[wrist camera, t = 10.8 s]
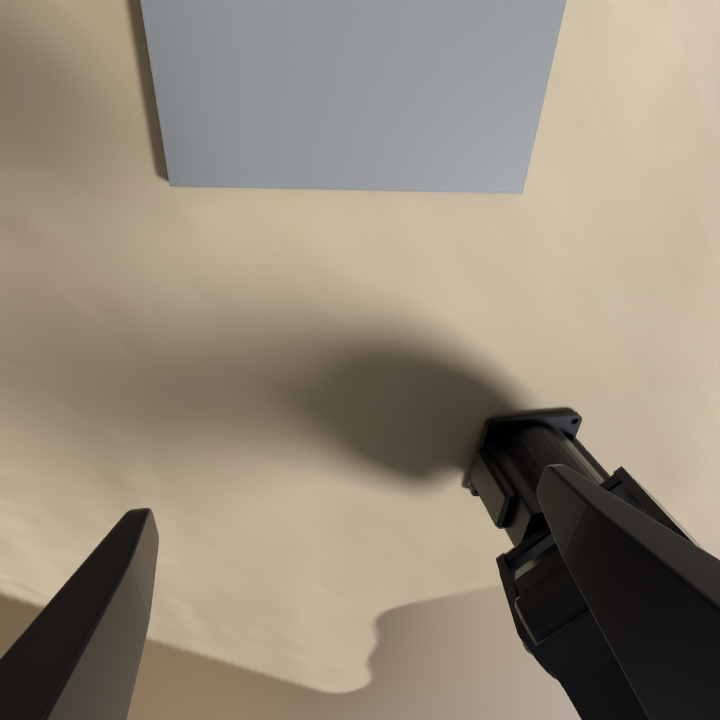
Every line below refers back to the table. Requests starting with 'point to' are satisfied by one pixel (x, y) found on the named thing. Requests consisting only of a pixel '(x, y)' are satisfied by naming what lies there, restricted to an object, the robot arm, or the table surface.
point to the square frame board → (351, 92)
